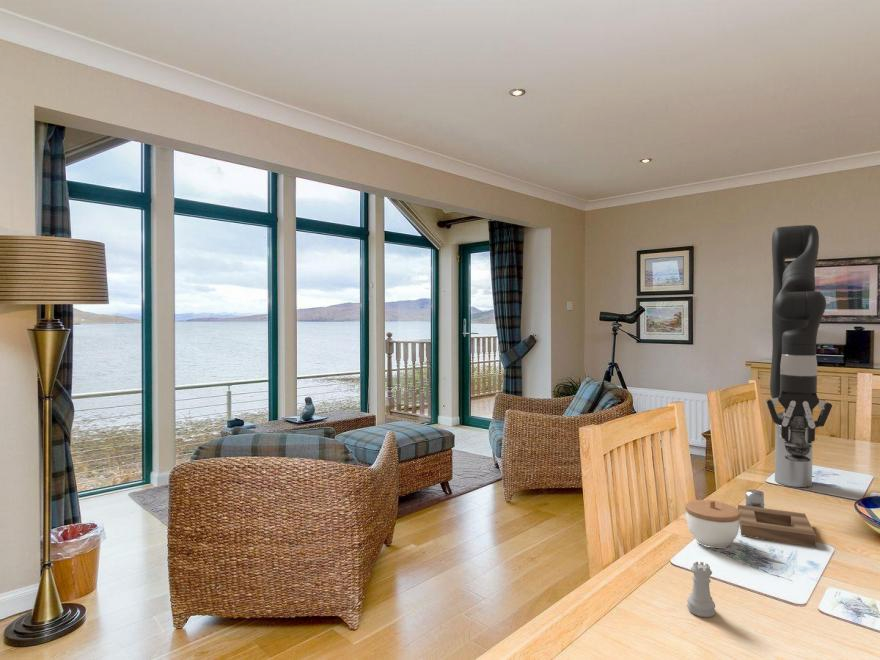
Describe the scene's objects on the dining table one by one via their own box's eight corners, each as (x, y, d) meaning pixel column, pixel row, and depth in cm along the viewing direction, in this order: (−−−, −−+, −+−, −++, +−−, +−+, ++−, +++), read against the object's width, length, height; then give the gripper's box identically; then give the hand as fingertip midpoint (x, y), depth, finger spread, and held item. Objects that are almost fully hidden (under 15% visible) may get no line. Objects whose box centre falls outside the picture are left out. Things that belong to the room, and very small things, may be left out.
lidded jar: (734, 536, 121) (735, 495, 121) (744, 556, 111) (745, 512, 111) (682, 530, 125) (683, 490, 124) (688, 549, 115) (688, 506, 114)
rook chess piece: (681, 604, 93) (681, 559, 93) (706, 603, 94) (706, 558, 93) (695, 619, 89) (696, 571, 88) (721, 618, 89) (722, 570, 89)
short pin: (744, 507, 139) (744, 488, 138) (762, 509, 137) (762, 490, 137) (747, 513, 135) (746, 494, 135) (765, 515, 133) (765, 495, 133)
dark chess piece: (816, 462, 129) (817, 413, 129) (789, 461, 130) (790, 412, 130) (805, 455, 135) (805, 408, 134) (779, 455, 136) (779, 408, 135)
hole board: (737, 514, 134) (737, 504, 134) (804, 523, 128) (804, 513, 128) (741, 535, 122) (741, 524, 122) (815, 547, 115) (815, 535, 115)
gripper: (830, 372, 132) (829, 441, 133) (763, 370, 138) (762, 435, 139) (837, 375, 125) (836, 448, 126) (766, 373, 131) (765, 442, 132)
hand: (797, 441), depth 132 cm, fingers closed on dark chess piece, 4 cm apart
